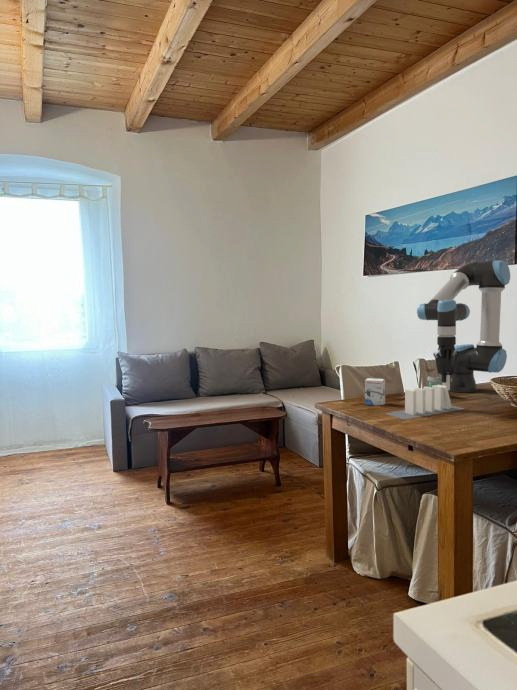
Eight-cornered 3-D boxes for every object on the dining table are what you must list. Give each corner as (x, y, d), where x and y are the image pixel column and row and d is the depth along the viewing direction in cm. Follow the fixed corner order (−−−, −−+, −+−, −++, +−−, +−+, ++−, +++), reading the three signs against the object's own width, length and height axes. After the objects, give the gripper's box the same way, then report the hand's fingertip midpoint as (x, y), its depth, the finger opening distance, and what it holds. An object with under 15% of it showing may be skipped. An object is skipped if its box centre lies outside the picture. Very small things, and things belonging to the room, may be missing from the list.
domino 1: (408, 412, 223) (408, 389, 222) (416, 414, 219) (416, 391, 218) (405, 412, 222) (405, 389, 221) (413, 415, 218) (413, 391, 217)
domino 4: (434, 407, 229) (434, 385, 228) (443, 409, 225) (443, 387, 224) (432, 408, 229) (432, 385, 228) (440, 410, 224) (440, 387, 223)
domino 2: (417, 410, 225) (417, 387, 224) (425, 412, 221) (425, 389, 220) (414, 411, 225) (414, 388, 223) (422, 413, 220) (422, 390, 219)
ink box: (364, 405, 242) (364, 380, 240) (367, 402, 246) (366, 378, 245) (383, 406, 238) (383, 380, 237) (385, 403, 243) (385, 378, 241)
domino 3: (426, 409, 227) (426, 386, 226) (434, 411, 223) (434, 388, 222) (423, 409, 227) (423, 386, 226) (431, 411, 222) (431, 388, 221)
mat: (444, 404, 237) (444, 403, 236) (465, 410, 226) (465, 408, 226) (384, 414, 222) (384, 413, 222) (403, 420, 211) (403, 419, 211)
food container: (422, 396, 256) (422, 376, 254) (428, 394, 260) (428, 374, 258) (445, 399, 246) (445, 379, 245) (452, 397, 250) (452, 377, 249)
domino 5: (443, 405, 231) (438, 384, 229) (451, 407, 227) (446, 386, 225) (440, 406, 231) (435, 386, 229) (449, 408, 226) (444, 387, 224)
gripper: (451, 334, 232) (450, 386, 234) (428, 336, 226) (428, 390, 229) (464, 335, 225) (463, 389, 227) (441, 337, 219) (441, 392, 222)
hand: (446, 389), depth 228 cm, fingers closed
